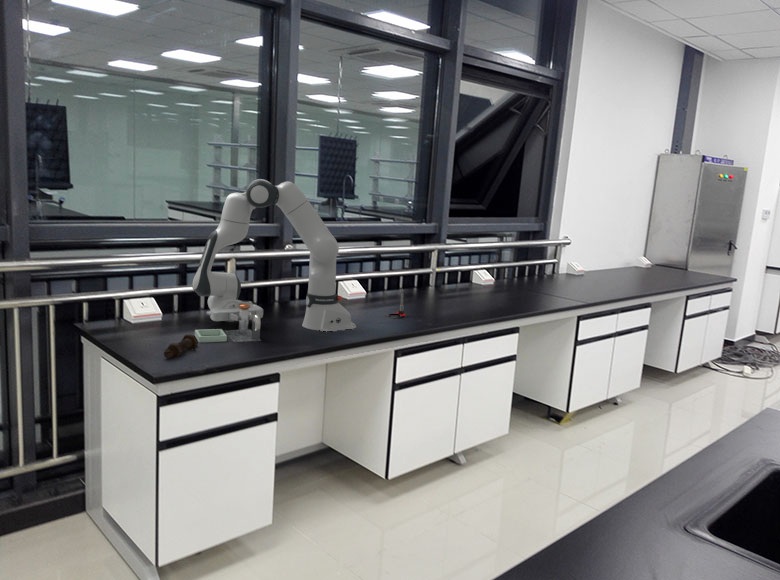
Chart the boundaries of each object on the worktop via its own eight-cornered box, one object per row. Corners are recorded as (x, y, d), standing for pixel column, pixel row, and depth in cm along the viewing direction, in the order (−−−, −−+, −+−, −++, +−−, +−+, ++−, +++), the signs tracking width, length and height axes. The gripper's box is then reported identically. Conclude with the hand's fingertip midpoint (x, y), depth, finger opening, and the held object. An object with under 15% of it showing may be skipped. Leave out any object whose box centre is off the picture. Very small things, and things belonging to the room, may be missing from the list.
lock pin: (247, 331, 239) (248, 303, 237) (249, 334, 236) (251, 306, 234) (236, 331, 237) (237, 303, 235) (239, 334, 234) (240, 306, 232)
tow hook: (391, 320, 284) (408, 318, 290) (393, 292, 281) (409, 290, 287) (381, 316, 291) (397, 314, 296) (382, 289, 288) (398, 287, 293)
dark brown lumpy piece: (165, 365, 202) (189, 351, 217) (177, 359, 201) (200, 346, 215) (157, 349, 202) (181, 336, 216) (169, 343, 200) (193, 331, 215)
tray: (221, 336, 233) (221, 328, 232) (226, 343, 224) (226, 335, 224) (194, 337, 228) (194, 329, 228) (199, 345, 220) (199, 336, 220)
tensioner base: (250, 331, 243) (251, 306, 241) (260, 343, 229) (262, 316, 227) (224, 332, 238) (225, 307, 236) (233, 344, 224) (234, 317, 222)
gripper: (204, 303, 239) (218, 311, 228) (254, 300, 251) (269, 308, 240) (204, 319, 240) (217, 328, 229) (253, 316, 252) (268, 324, 241)
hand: (244, 318), depth 235 cm, fingers closed on lock pin, 3 cm apart
